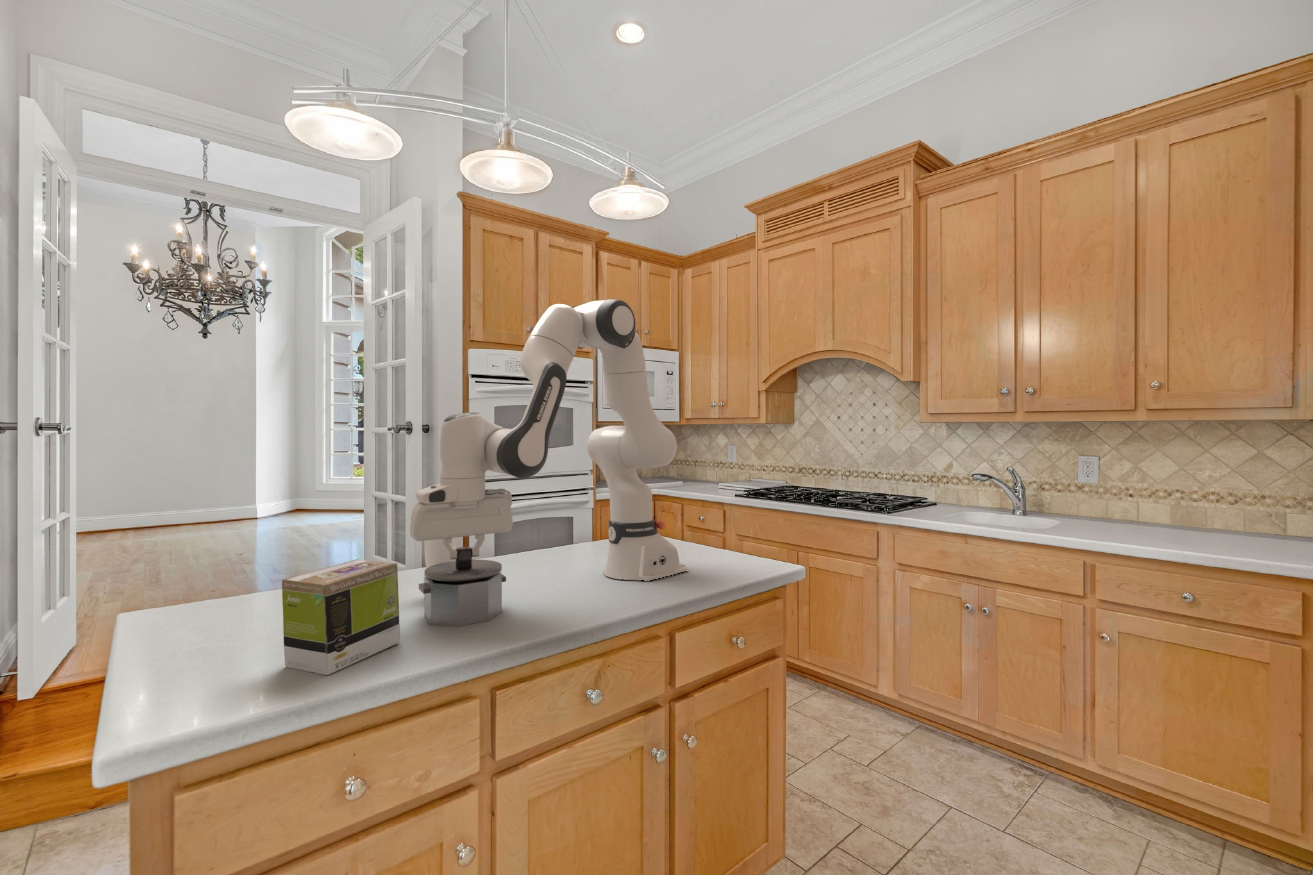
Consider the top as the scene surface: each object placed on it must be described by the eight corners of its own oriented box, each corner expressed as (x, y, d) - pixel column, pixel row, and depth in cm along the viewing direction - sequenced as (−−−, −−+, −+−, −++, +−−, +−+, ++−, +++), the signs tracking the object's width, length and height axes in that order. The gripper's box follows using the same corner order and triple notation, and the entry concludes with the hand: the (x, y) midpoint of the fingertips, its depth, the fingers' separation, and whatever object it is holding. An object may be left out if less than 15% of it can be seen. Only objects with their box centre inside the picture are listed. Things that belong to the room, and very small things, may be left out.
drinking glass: (461, 593, 137) (460, 529, 137) (448, 601, 130) (447, 534, 130) (433, 592, 138) (433, 528, 137) (419, 601, 131) (418, 533, 131)
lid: (488, 565, 132) (488, 538, 132) (512, 579, 120) (512, 550, 119) (417, 574, 124) (416, 546, 124) (434, 591, 111) (434, 560, 111)
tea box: (359, 636, 109) (358, 557, 109) (401, 644, 105) (400, 562, 105) (281, 668, 95) (280, 576, 95) (326, 677, 91) (325, 582, 91)
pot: (492, 598, 132) (491, 563, 132) (514, 615, 121) (514, 577, 120) (413, 611, 123) (413, 573, 123) (429, 631, 111) (429, 589, 111)
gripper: (506, 486, 130) (507, 549, 130) (407, 492, 118) (408, 561, 119) (516, 489, 125) (517, 554, 125) (414, 495, 113) (415, 567, 114)
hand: (463, 557), depth 122 cm, fingers closed on lid, 3 cm apart
